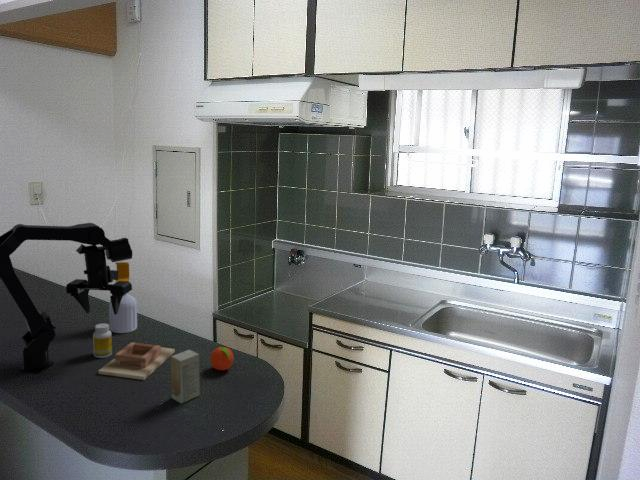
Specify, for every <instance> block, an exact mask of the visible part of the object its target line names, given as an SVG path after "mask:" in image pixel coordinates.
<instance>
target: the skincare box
mask: <svg viewBox="0 0 640 480" xmlns="http://www.w3.org/2000/svg"><path fill="white" fill-rule="evenodd" d="M170 369H171V371H170V374H171V375H170V376H171V377H170V379H171V380H170V381H171V399H172V400H173V401H176V402H177V403H179V404H183V403H186V402H188V401H190V400H192V399H194V398H197V397H199V396H200V354H199V353H198V352H196V351H193V350H192V349H186V350H185V351H181V352H178V353H176V354H172V355H171V356H170Z"/></svg>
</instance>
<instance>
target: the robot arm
mask: <svg viewBox="0 0 640 480" xmlns="http://www.w3.org/2000/svg"><path fill="white" fill-rule="evenodd" d="M25 241H67V242H69V241H70V242H74V243H79V244H80V246H79V247H78V248H76V250H75V251H76V252H77V253H78V254H79V255H84V262H85V270H83V275H86V278H87V279H82V278H81V279H80V278H75V279H74V280H72V281H70V282H68V283H67V284H66V286H65V292H66V294H70V296H71V297H73V298H74V299H75V301H77V302H78V304H79V305H80V306H81V307H82V309H83V310H84V312H85V313H86V314H89V313H90V312H91V308H90V307H91V306H90V299H89V298H90V297H89V292H90V291H107V292H108V291H109V293H110V294H111V295H110V296H109V298H110V300H111V303H112V307H113V312H114V314H115V315H116V314H117V313H118V310H119V306H120V302H121V300H122V297H123V295H125V294H126V293H128V294H129V292H131V291H132V290H133V285H132V283H131V282H130V280H129V281H118V282H116V280H118V273H119V271H117V269H116V270H115V269H112V270H111V267H110V265H107V260H110V262H112V263H116V262H123V261H128V260H131V259H132V258H133V249H132V248H131V244H130V242H129V238H128V237H121V238H118V239H114V240H113V239H112V240H111V239H109V238H108V237H107V236H106V233H105V230H104V229H103V228H102V227H101V226H99V225H98V224H95V223H92V222H86V223H78V224H73V225H64V226H63V225H37V224H35V225H30V224H22V223H19V224H18V223H17V224H16V225H14V226H13V227H12V228H11V229H9V230H8V231H6V232H5V233H3V234H1V235H0V279H1V281H2V282H3V284H4V286H5V287H6V289H7V290H8V293H9V294H10V295H11V298H12V299H13V300H14V302H15V303H16V306H17V308H19V310H20V312H21V313H22V316H24V321H25V324H26V327H27V329H28V330H27V331H26V332H25V333H24V334H23V335H22V336H21V338H20V340H21V342H22V343H23V345H24V348H23V350H22V359H23V362H22V363H23V365H22V366H21V367H19V369H18V370H19V371H23V372H29V373H37V374H39V373H41V372H43V371H45V370H47V368H49V367H51V366H52V365H54V361H49V360H50V359H49V357H50V356H49V346H50V344H51V343H52V341H53V340H54V339H55V336H56V331H55V329H57V327H56V325H55V323H54V322H53V321H52V319H51V317H50V315H49V314H48V312H46V311H45V310H43V312H40V311H39V310H38V309H37V308H36V306H35V304H34V303H33V301H32V299H31V298H30V296H29V294H28V292H27V291H26V289H25V288H24V286H23V284H22V282H21V281H20V279H19V278H18V276H17V274H16V272H15V269H14V266H13V263H12V260H11V259H12V258H11V257H10V256H11V255H12V254H13V253H15V252H16V250H17V249H18V248H19V247H21V245H22V244H23V243H24V242H25ZM114 281H115V283H112V282H114ZM110 283H111V284H110Z"/></svg>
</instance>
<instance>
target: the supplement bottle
mask: <svg viewBox="0 0 640 480" xmlns="http://www.w3.org/2000/svg"><path fill="white" fill-rule="evenodd" d="M112 333H113V332H112V331H111V330H110V323H98V324H95V326H94V332H93V334H92V344H93V345H92V350H93V356H94V357H95V358H99V359H104V358H108V357H110V356H112V354H113V342H112V341H113V340H112V339H113V337H112V336H113V335H112Z"/></svg>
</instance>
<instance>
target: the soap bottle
mask: <svg viewBox="0 0 640 480" xmlns="http://www.w3.org/2000/svg"><path fill="white" fill-rule="evenodd" d="M114 263H115V265H116V271H119V273H118V280H115V283H116V282H118V281H129V282H130V263H129V262H126V261H125V262H123V261H117V262H114ZM108 315H109V320H108V321H109V331H111V333H115V334H128V333H131V332H134V331H136V330H137V329H138V301H137V299H136V297H134V296H133V295H130V294H129V292H128V293H126V294H125V295H123V297H122V300H121V302H120V306H119V310H118V313H117V314H116V315H115V314H114V312H113V307H112V303H111V299H110V300H109V303H108Z"/></svg>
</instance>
